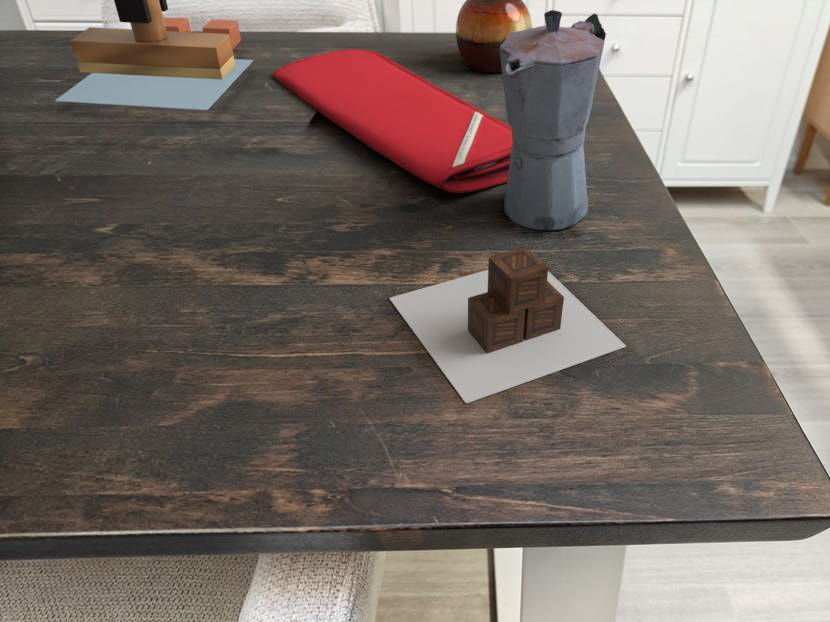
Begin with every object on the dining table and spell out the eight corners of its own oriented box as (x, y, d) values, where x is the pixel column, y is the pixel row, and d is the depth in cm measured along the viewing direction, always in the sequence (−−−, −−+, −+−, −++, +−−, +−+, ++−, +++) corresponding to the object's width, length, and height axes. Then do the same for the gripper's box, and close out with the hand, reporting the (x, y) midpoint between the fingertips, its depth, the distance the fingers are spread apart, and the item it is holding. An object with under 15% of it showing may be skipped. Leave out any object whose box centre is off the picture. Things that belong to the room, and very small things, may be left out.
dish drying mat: (371, 63, 110) (369, 37, 108) (552, 169, 85) (554, 138, 83) (272, 85, 103) (268, 57, 100) (438, 208, 78) (437, 176, 76)
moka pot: (466, 224, 76) (467, 17, 63) (544, 168, 86) (559, -21, 72) (546, 254, 72) (566, 40, 59) (618, 192, 82) (649, -3, 68)
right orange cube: (208, 55, 111) (202, 27, 108) (217, 46, 114) (211, 19, 111) (234, 56, 111) (229, 28, 108) (242, 47, 114) (237, 20, 111)
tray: (57, 109, 95) (53, 100, 94) (121, 60, 109) (119, 52, 108) (209, 119, 94) (207, 109, 93) (255, 68, 108) (253, 59, 107)
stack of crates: (533, 257, 72) (538, 193, 67) (626, 346, 62) (640, 278, 57) (388, 298, 66) (384, 231, 62) (466, 404, 56) (466, 333, 52)
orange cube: (158, 53, 111) (151, 25, 109) (168, 44, 114) (162, 17, 112) (184, 54, 111) (178, 26, 108) (194, 45, 114) (188, 18, 112)
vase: (519, 81, 106) (526, -39, 96) (445, 72, 108) (444, -46, 98) (537, 56, 114) (545, -58, 104) (468, 47, 116) (469, -64, 106)
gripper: (46, -327, 48) (146, 45, 64) (151, -319, 60) (214, -7, 76) (-64, -330, 49) (62, 41, 64) (62, -321, 61) (143, -10, 76)
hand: (144, 14), depth 70 cm, fingers closed on brush, 3 cm apart
